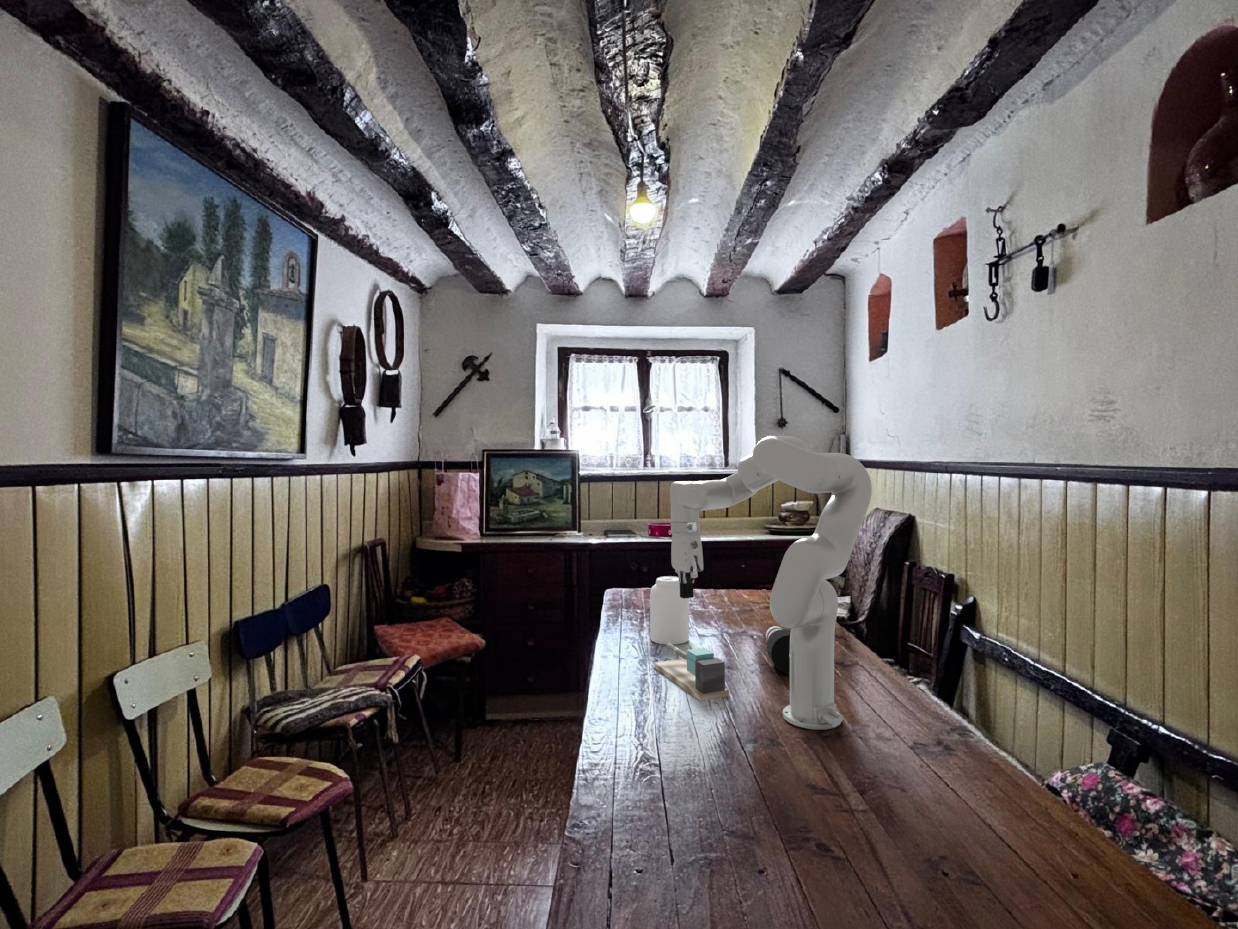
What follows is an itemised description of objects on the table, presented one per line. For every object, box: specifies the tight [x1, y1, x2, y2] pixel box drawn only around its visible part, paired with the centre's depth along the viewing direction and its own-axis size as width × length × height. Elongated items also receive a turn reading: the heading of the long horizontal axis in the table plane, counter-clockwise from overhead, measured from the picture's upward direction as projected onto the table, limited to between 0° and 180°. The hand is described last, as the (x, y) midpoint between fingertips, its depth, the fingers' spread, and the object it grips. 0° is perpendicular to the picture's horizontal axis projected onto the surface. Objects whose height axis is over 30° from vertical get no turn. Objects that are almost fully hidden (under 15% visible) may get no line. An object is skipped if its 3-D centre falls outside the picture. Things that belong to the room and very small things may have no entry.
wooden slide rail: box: [653, 643, 729, 702], centre depth 170 cm, size 26×8×8 cm, turn 22°
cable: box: [765, 625, 791, 675], centre depth 190 cm, size 10×34×10 cm, turn 174°
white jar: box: [649, 575, 690, 646], centre depth 208 cm, size 12×12×20 cm
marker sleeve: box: [686, 647, 715, 676], centre depth 164 cm, size 5×5×5 cm
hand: (686, 597), depth 171 cm, fingers closed
